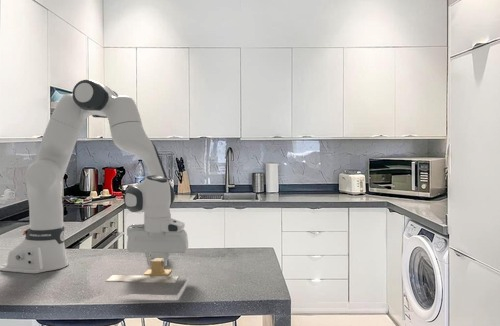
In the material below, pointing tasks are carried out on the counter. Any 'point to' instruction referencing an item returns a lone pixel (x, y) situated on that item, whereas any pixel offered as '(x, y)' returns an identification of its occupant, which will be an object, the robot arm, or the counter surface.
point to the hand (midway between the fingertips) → (157, 265)
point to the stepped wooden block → (157, 268)
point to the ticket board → (143, 278)
